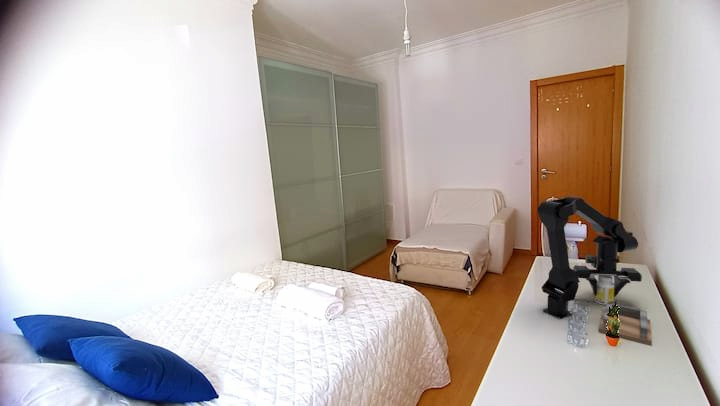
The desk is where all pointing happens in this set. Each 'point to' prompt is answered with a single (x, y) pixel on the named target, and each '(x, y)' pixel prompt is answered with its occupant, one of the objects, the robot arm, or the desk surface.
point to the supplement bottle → (604, 290)
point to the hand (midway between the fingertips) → (604, 295)
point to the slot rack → (629, 323)
